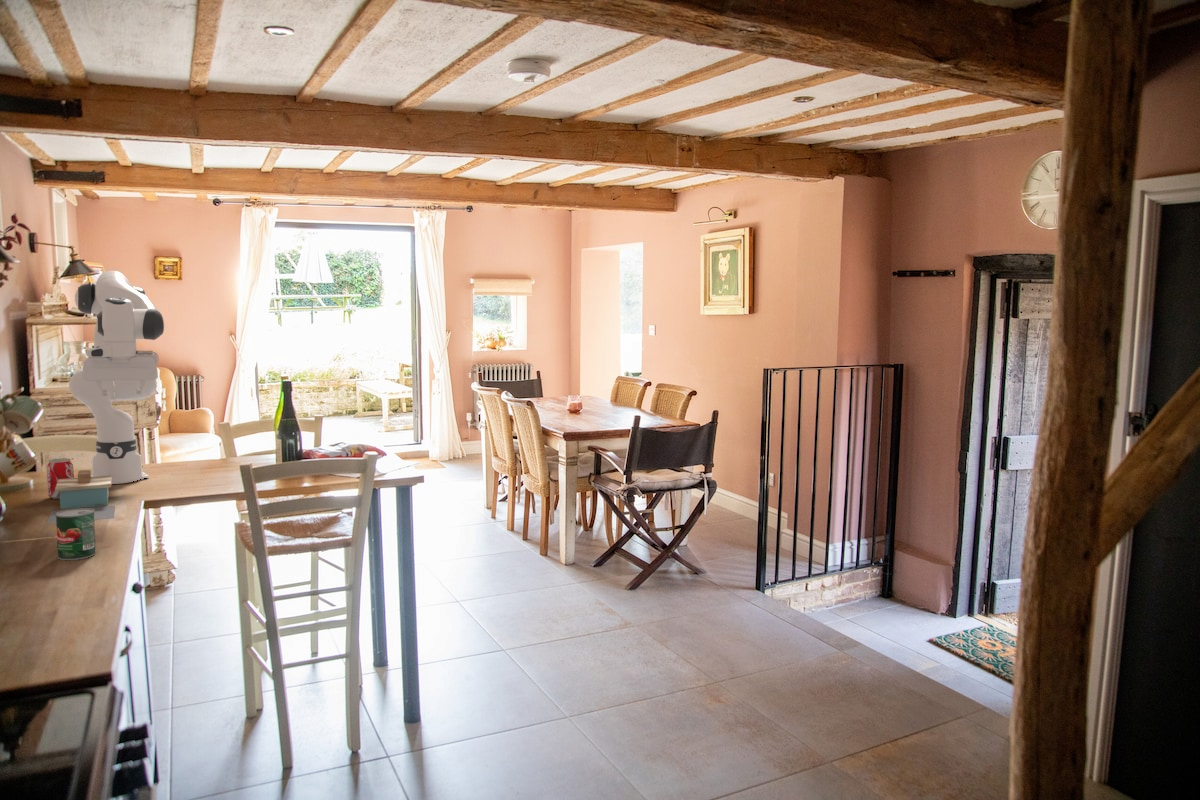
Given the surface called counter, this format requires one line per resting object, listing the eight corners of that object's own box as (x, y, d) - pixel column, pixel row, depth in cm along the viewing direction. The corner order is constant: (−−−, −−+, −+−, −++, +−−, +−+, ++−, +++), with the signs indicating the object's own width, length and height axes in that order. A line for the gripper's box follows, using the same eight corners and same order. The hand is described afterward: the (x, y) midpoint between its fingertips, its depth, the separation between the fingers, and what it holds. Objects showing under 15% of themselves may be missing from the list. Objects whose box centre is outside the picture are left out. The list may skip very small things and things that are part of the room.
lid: (59, 482, 250) (58, 469, 249) (112, 478, 257) (111, 466, 256) (55, 491, 238) (54, 478, 237) (110, 487, 244) (110, 474, 244)
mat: (51, 512, 237) (51, 511, 237) (115, 507, 245) (115, 505, 245) (46, 525, 223) (46, 524, 223) (113, 519, 231) (113, 517, 231)
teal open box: (63, 501, 250) (62, 482, 249) (108, 497, 256) (108, 479, 255) (60, 510, 240) (59, 490, 239) (107, 506, 245) (106, 486, 245)
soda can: (65, 500, 252) (63, 462, 250) (42, 499, 252) (40, 461, 251) (79, 495, 259) (78, 458, 258) (58, 494, 259) (56, 457, 258)
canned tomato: (52, 561, 192) (50, 516, 191) (64, 552, 200) (62, 508, 199) (89, 559, 195) (87, 515, 193) (100, 550, 202) (98, 507, 201)
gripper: (158, 350, 257) (159, 393, 259) (82, 350, 247) (84, 394, 249) (158, 351, 252) (159, 395, 253) (80, 351, 242) (82, 397, 243)
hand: (121, 395), depth 251 cm, fingers open, 8 cm apart
